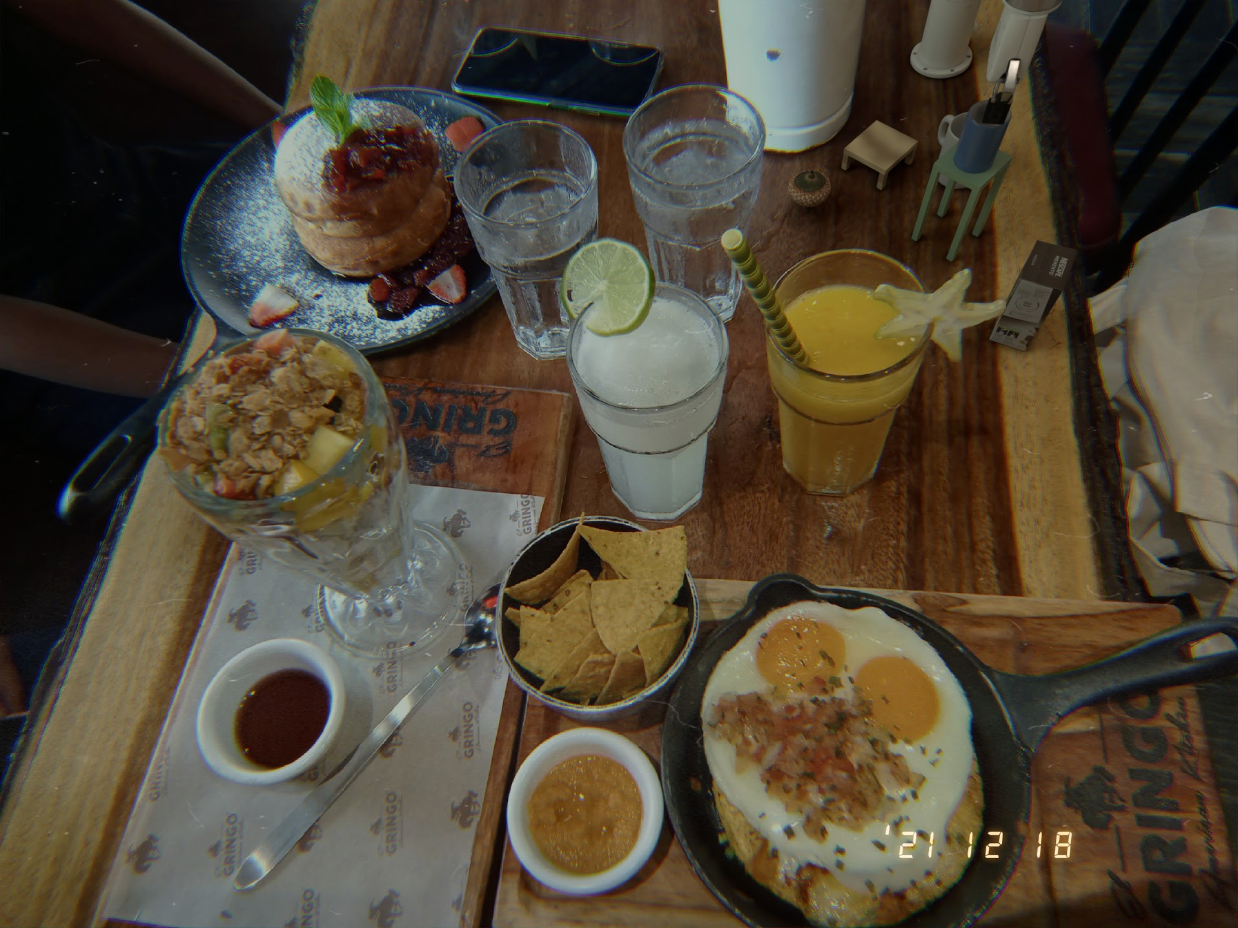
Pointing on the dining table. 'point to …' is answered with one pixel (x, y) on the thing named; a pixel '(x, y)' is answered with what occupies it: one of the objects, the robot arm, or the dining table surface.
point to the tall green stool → (976, 184)
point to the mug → (950, 139)
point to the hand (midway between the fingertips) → (995, 101)
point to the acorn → (809, 188)
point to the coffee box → (1034, 294)
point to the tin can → (979, 141)
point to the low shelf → (880, 150)
